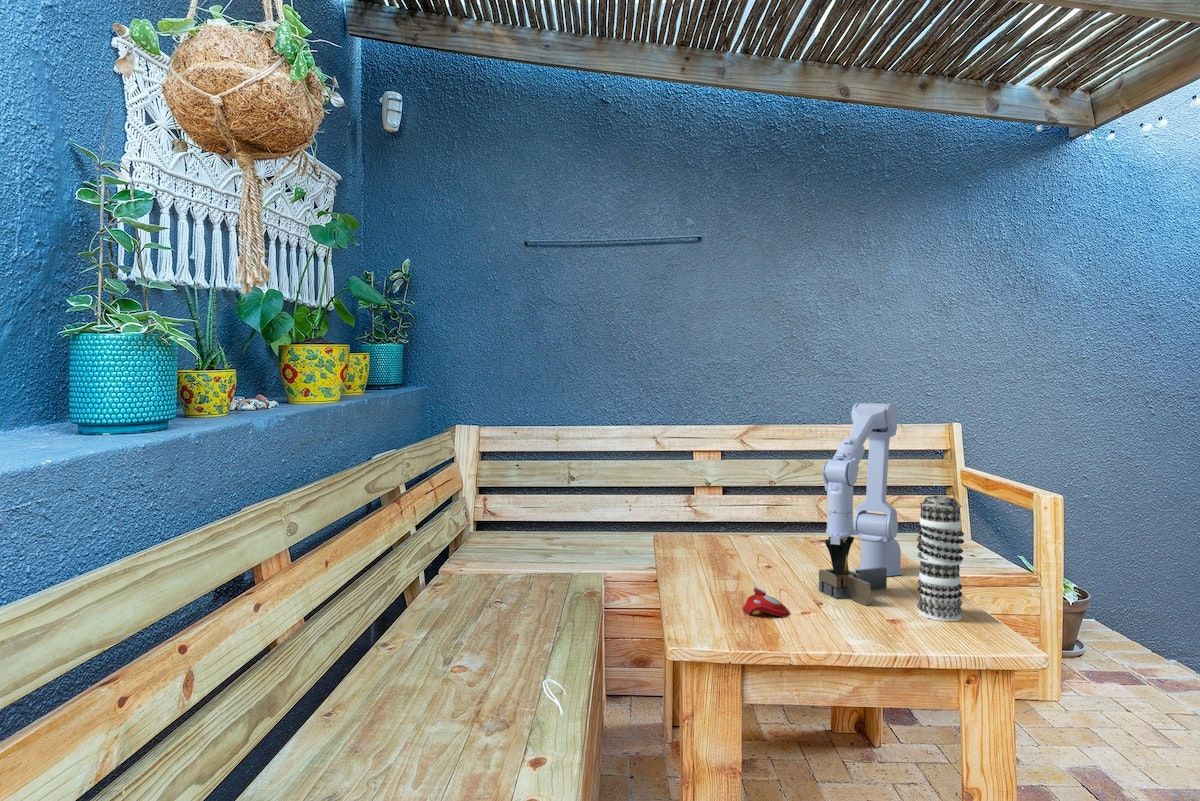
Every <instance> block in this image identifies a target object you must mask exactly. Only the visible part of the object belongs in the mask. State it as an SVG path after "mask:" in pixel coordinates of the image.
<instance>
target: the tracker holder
mask: <svg viewBox="0 0 1200 801" xmlns="http://www.w3.org/2000/svg"><path fill="white" fill-rule="evenodd" d="M753 592H754V594H752V595H750V596H749V597H748V598H747V599H746V601H745V604H744V606H743V607H742V610H743V611H744V612H745V613H746V614H748V615H749V616H750V615H752V614H753V613H754V612H759V611H761V612H763V613H766V614H770V615H773V616H777V617H781V618H783V617H782V616H784V617H786V616H787V615H788V612H789V609H788V608H787V607H786V606H785V605H784V604H783V603H782V602H780V601H779V600H778V599H777V598H774V597H772V596H770V595H767V592H766V590H763V589H761V588H758V587H757V586H754V587H753Z"/></svg>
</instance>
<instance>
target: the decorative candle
mask: <svg viewBox="0 0 1200 801" xmlns="http://www.w3.org/2000/svg"><path fill="white" fill-rule="evenodd" d="M919 505H920V517H919V521H917V522H916V523H915V524H916V525H917V527H916V528H915V530H916V532H917V534H918V535H917V539H916V541H917V542H918V543H917V545H916V548H917V549H918V551H919V552H917V553H918V554H917V559H918V560H919V563H920V566H919V575H918V576H919V577H918V581H917V584H918V585H919V586H918V587H917V589H916V590H917V592H918V593H919V594H918V595H917V597H916V599H917V601H918V603H917V605H916V606H917V609H918V610H917V614H918V613H919V614H918V616H920V615H921V616H920V617H922V616H923V617H922V618H924V617H926V618H925V619H927V618H931V619H936V620H943V621H954V622H957V621H956V620H959V621H961V620H962V615H961V614H962V611H963V608H962V607H961V606H962V605H963V600H961V598H962V595H963V592H962V591H961V590H962V589H963V585H962V584H961V581H962V580H961V575H960V569H961V568H960V565H961V564H963V560H964V557H963V556H961V554H963V552H964V550H963V549H962V548H961V547H960V545H962V544H964V543H965V540H964V539H963V538H962V537H963V536H965V532H963V531H962V530H960V529H961V528H962V520H961V508H962V507H963V506H962V505H961V504H960V503H959V502H958V501H957V499H956V498H954V497H950V496H944V495H943V496H941V495H930V496H927V497H925V498H924V499H923V501H922V502H920V503H919ZM960 619H961V620H960Z"/></svg>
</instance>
